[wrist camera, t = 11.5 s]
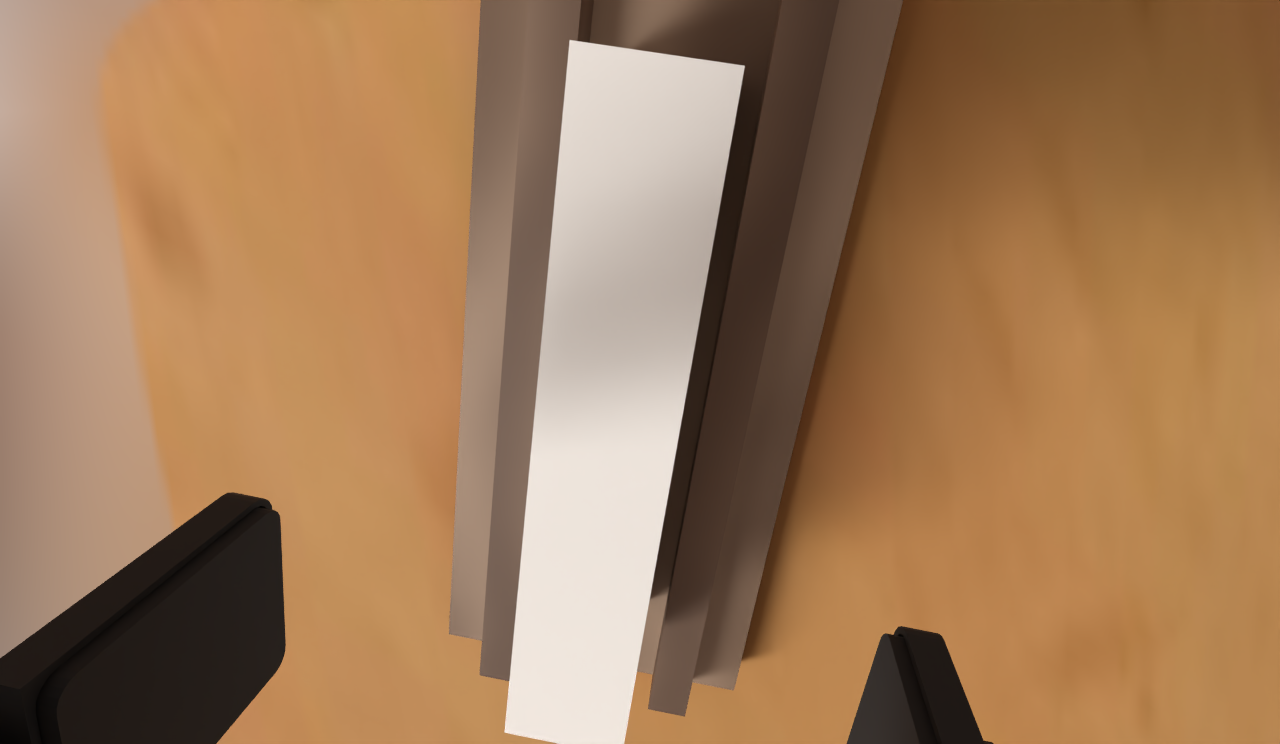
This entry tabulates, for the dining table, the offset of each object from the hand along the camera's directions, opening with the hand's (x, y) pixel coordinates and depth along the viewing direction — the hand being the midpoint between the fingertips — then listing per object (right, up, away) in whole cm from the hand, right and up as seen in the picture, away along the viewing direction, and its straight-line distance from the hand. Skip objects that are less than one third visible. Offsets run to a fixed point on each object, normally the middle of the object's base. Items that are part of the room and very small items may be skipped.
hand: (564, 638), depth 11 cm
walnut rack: (+1, +5, +11) cm, 12 cm away
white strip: (+1, +4, +10) cm, 11 cm away
